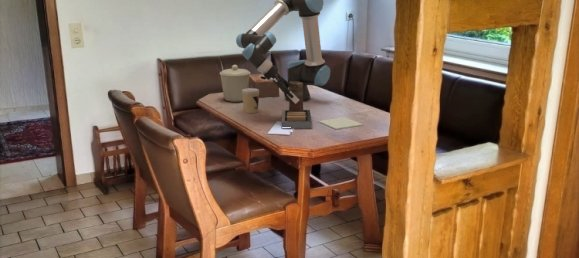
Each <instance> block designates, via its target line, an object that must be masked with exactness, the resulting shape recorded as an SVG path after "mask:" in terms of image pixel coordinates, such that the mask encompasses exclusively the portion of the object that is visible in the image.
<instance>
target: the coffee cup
mask: <svg viewBox="0 0 579 258" xmlns="http://www.w3.org/2000/svg"><path fill="white" fill-rule="evenodd" d="M242 96H243V101H242V107H243V112H244V113H245V114H255V113H258V112H259V104H260V103H259V99H260V98H259V90H258V89H255V88H249V87H248V88H247V89H243V90H242Z"/></svg>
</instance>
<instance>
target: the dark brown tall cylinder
mask: <svg viewBox="0 0 579 258" xmlns="http://www.w3.org/2000/svg"><path fill="white" fill-rule="evenodd" d="M289 90H290V91H291V92H292V93H293V94H294V95H295V96H296V97H297V98H298V99H299V101H298V102H297V103H296V104H295V103H294V102H293V101H292V100H291V99H290V98H289V101H288V108H289V109H288V110H289V112H303V110H304V101H303V83H301V82H295V81H290V82H289Z"/></svg>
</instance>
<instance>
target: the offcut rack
mask: <svg viewBox="0 0 579 258" xmlns="http://www.w3.org/2000/svg"><path fill="white" fill-rule="evenodd" d="M287 112H289V109H282V111H281V128H282V127H291V128H299V129H298V130H302V129H303V130H312V117H311V110H310V109H303V112H305V114H306V121H287Z"/></svg>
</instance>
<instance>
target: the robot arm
mask: <svg viewBox="0 0 579 258" xmlns="http://www.w3.org/2000/svg"><path fill="white" fill-rule="evenodd" d="M323 6H324V0H276V1H275V2H274V3H273V6H272V7H271V8H270V9H268V10H267V12H266V13H265V14H264V15H263V16H261V17H260V18H259V19H258V20H257V22H256V23H254V25H252V26H251V27H250V28H249V29H248V30H247V31H246V32H245V33H244V32H243V33H239V34H238V35H237V36H236V38H235V42H236V45H237V47H239V48H242V49H243V50H242V51H241V54H242V56H243V57H244V58H245V59H246V60H247V61H248V62H249V63H250V64H251V65H252V66H253V67H254V68H255V69H256V70H257V73H259V74H264V77H265V78H266V79H267V80H269V79H271V78H273V82H275V84H276V85H277V86H278V87H279V90H281V92H282V93H283V96H284V100H285V101H287V102H289V98H290V99H291V100H292V101H293V102H294V103H295V104H296V103H297V102H298V101H299V99H298V98H297V97H296V96H295V95H294V94H293V93H292V92H291V91H290V90H289V82H290V81H295V82H301V83H303V102H308V101H310V100H311V95H310V91H309V88H308V84H309V85H312V86H313V85H314V86H324V85H326V84H327V83H328V82H329V80H330V78H331V77H330V76H331V68H330V67H329V66H328V65H326V61H325V59H324V58H323V57H322V56H323V55H322V46H321V35H320V28H319V27H320V26H319V25H320V24H319V16H320V15H321V11H322V10H323ZM291 12H298V16H299V17H298V18H300V19H301V21H302V29H303V30H302V31H303V37H304V46H305V56H306V59H298V60H292V61H289V62H288V64H287V80H286V79H285V78H284V77H282V75H280V74H279V73H278V72H279V68H277V67H276V65H275V64H273V62H272V61H271V60H269V59H268V57H266V54H267V53H268V52H269V51H270V50H271V49H272V48H273V47H274V46H275V44H276V43H277V38H276V35H275V34H273V32H270V30H271V28H273V27H274V26H275V25H276V24H277V23H278V22H279V21H280V20H281V19H283V17H284V16H287V15H288V14H289V13H291Z"/></svg>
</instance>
